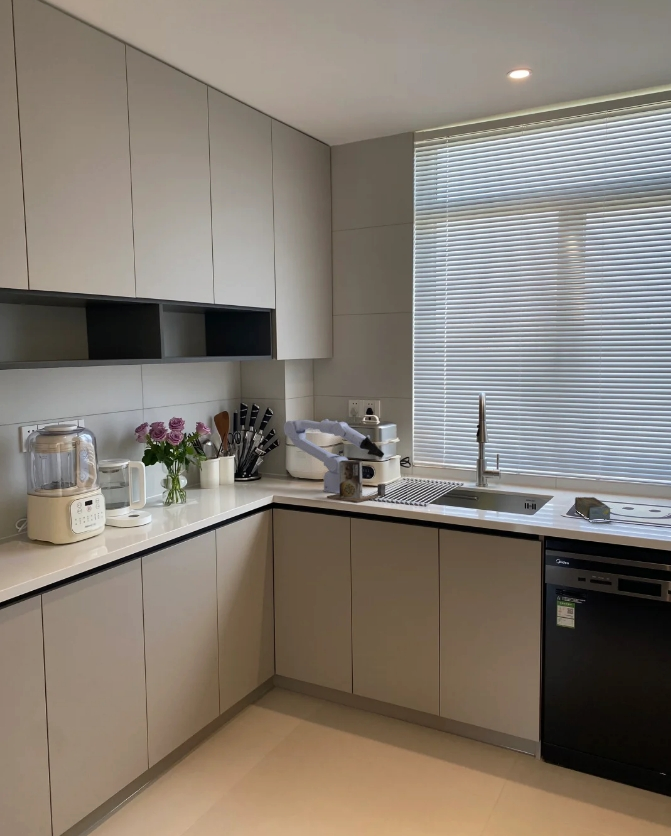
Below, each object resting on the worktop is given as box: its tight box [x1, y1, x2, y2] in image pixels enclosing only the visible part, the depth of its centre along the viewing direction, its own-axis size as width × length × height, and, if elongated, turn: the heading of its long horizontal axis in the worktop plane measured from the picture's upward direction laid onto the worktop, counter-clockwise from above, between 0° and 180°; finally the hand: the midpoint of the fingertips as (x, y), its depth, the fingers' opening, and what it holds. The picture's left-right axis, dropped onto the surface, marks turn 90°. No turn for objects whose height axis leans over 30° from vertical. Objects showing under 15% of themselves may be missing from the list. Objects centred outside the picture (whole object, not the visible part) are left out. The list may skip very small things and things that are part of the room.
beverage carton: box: [574, 496, 611, 521], centre depth 267 cm, size 8×19×7 cm, turn 177°
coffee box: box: [339, 459, 363, 499], centre depth 297 cm, size 9×6×16 cm
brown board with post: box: [326, 483, 387, 504], centre depth 302 cm, size 16×21×5 cm
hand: (380, 453), depth 300 cm, fingers open, 7 cm apart
